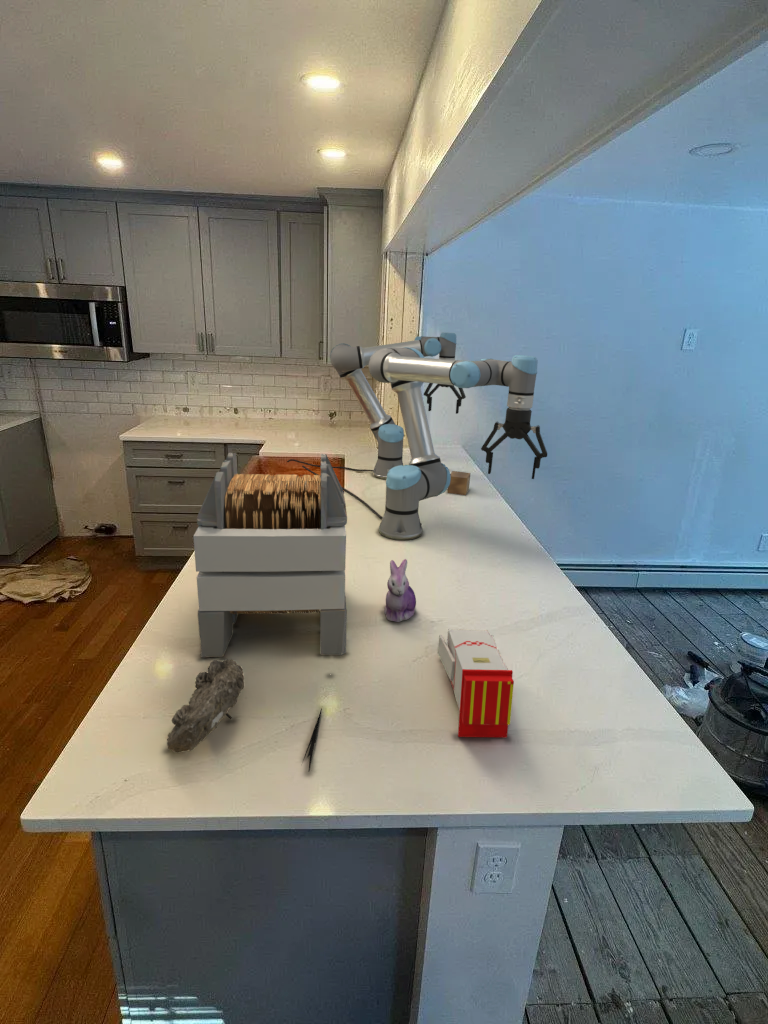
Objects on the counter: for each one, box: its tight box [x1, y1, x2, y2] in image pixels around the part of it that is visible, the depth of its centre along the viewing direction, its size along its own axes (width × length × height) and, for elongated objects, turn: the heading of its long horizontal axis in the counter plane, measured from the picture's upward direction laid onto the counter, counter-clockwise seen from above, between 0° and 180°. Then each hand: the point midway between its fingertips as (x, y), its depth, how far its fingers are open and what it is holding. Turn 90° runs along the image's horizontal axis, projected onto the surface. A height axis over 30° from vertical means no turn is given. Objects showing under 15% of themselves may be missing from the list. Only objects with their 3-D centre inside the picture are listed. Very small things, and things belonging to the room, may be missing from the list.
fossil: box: [166, 658, 245, 754], centre depth 106 cm, size 22×10×15 cm
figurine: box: [384, 558, 417, 623], centre depth 145 cm, size 9×10×15 cm
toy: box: [437, 628, 515, 738], centre depth 117 cm, size 12×13×30 cm
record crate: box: [193, 452, 348, 659], centre depth 136 cm, size 34×33×41 cm
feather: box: [301, 673, 332, 771], centre depth 108 cm, size 2×28×2 cm
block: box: [447, 470, 471, 496], centre depth 249 cm, size 8×9×8 cm
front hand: (510, 475), depth 180 cm, fingers open, 13 cm apart
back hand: (443, 412), depth 274 cm, fingers open, 13 cm apart
